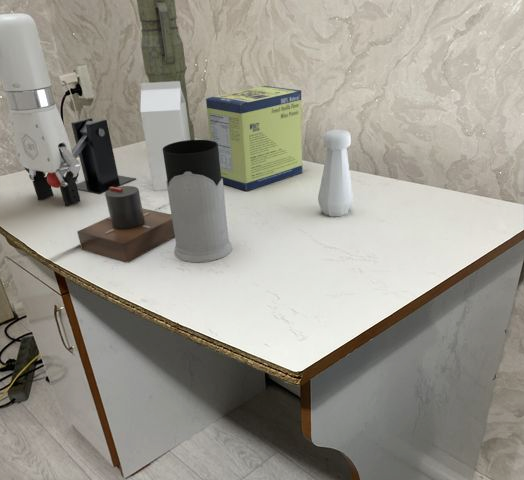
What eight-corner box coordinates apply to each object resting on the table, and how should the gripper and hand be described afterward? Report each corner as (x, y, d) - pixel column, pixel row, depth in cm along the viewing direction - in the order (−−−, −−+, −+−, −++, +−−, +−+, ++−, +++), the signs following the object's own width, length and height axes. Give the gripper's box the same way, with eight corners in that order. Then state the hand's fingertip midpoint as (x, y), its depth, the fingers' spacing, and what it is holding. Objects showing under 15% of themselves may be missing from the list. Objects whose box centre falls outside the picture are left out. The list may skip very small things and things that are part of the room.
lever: (62, 192, 99) (50, 180, 96) (51, 190, 100) (39, 178, 97) (105, 133, 103) (95, 119, 100) (94, 131, 104) (84, 118, 102)
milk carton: (191, 193, 102) (176, 84, 92) (154, 195, 103) (135, 86, 92) (195, 182, 108) (182, 78, 97) (161, 184, 109) (144, 80, 98)
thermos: (169, 164, 120) (140, -26, 100) (151, 154, 128) (121, -24, 109) (205, 157, 123) (184, -29, 103) (185, 147, 132) (162, -26, 112)
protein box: (303, 172, 110) (302, 89, 101) (246, 192, 101) (240, 103, 93) (269, 163, 116) (265, 84, 107) (212, 181, 108) (203, 97, 99)
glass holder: (169, 263, 77) (151, 156, 69) (186, 225, 89) (172, 130, 80) (229, 261, 77) (218, 153, 68) (238, 224, 88) (230, 128, 80)
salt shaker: (312, 209, 92) (312, 129, 85) (342, 203, 93) (344, 124, 86) (327, 220, 87) (328, 137, 80) (358, 214, 89) (362, 132, 81)
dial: (151, 220, 83) (145, 186, 80) (128, 231, 80) (120, 196, 77) (128, 215, 86) (122, 182, 83) (105, 225, 83) (97, 191, 80)
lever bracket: (100, 199, 103) (84, 129, 95) (69, 193, 107) (51, 125, 100) (137, 184, 109) (124, 117, 102) (107, 178, 114) (92, 114, 106)
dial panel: (127, 262, 78) (122, 242, 77) (81, 249, 83) (76, 230, 81) (180, 233, 86) (178, 214, 85) (136, 223, 91) (132, 205, 89)
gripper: (-19, 101, 92) (14, 202, 102) (45, 107, 84) (74, 216, 94) (18, 93, 97) (46, 190, 107) (83, 98, 89) (106, 203, 99)
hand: (59, 202), depth 100 cm, fingers open, 7 cm apart
